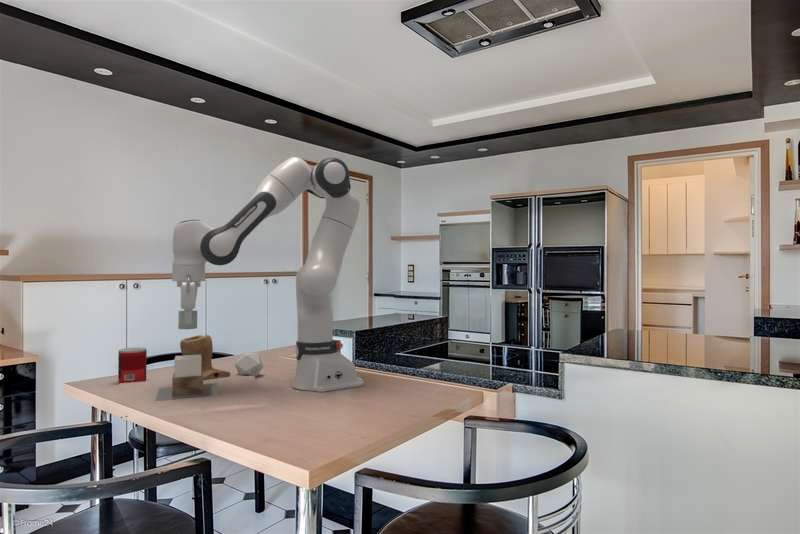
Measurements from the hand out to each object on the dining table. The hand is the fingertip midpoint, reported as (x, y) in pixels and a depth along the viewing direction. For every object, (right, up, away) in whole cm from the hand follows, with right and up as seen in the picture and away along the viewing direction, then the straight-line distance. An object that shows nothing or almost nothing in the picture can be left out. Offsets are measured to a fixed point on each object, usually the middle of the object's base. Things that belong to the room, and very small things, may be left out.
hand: (188, 322), depth 140 cm
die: (+10, -22, +26) cm, 35 cm away
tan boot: (-4, -22, +21) cm, 30 cm away
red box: (-25, -22, +16) cm, 37 cm away
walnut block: (0, -20, 0) cm, 20 cm away
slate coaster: (0, -21, 0) cm, 21 cm away
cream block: (0, -15, 0) cm, 15 cm away
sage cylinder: (0, -2, 0) cm, 2 cm away
